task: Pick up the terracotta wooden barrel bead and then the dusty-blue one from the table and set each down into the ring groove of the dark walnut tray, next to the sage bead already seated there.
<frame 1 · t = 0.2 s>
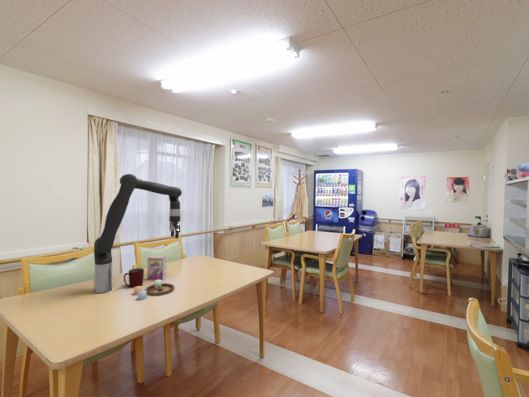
hand: (174, 237, 192), 29 cm above the table, fingers open, 8 cm apart
candy bar box: (156, 280, 185), on the table
bead terracotta: (138, 295, 158), on the table
bead sage: (157, 288, 166), point 1 cm above the table, touching groove tray
mug: (133, 288, 170), on the table
bead blue: (142, 300, 151), on the table
groove tray: (159, 292, 163), on the table
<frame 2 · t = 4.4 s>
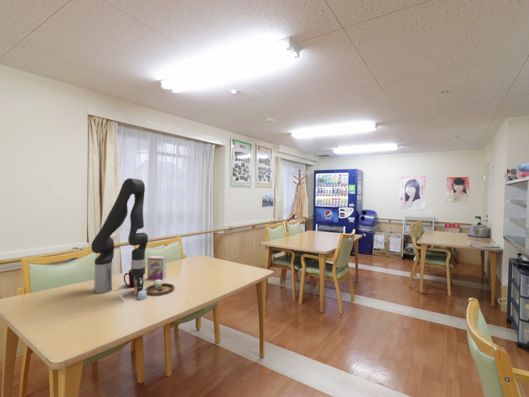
hand: (138, 294, 158), 0 cm above the table, fingers closed on bead terracotta, 4 cm apart
bead terracotta: (138, 295, 158), on the table, touching gripper
everything else where it was.
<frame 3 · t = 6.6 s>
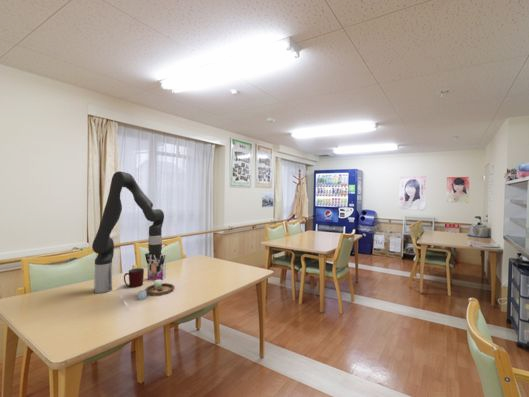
hand: (155, 271, 159), 14 cm above the table, fingers closed on bead terracotta, 4 cm apart
bead terracotta: (155, 271, 159), point 14 cm above the table, touching gripper
everything else where it was.
when the fingers open (2 cm above the table, at t = 9.0 s): bead terracotta stays where it is, resting on groove tray.
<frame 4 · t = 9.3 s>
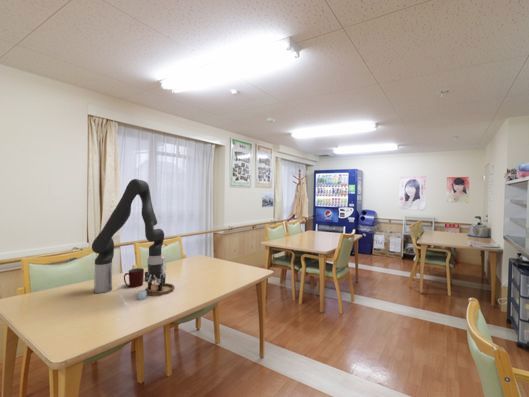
hand: (154, 289, 159), 3 cm above the table, fingers open, 7 cm apart
bead terracotta: (154, 292, 159), point 1 cm above the table, touching groove tray
everything else where it was.
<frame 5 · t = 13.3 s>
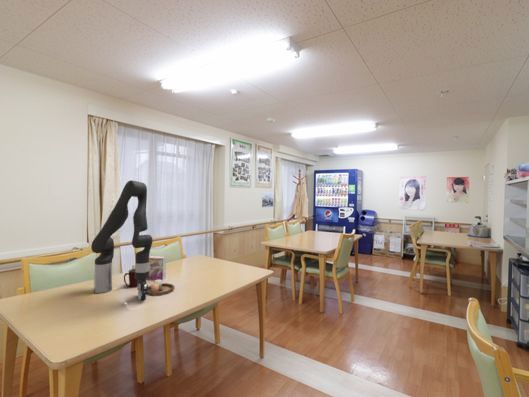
hand: (142, 299, 151), 0 cm above the table, fingers closed on bead blue, 4 cm apart
bead blue: (142, 300, 151), on the table, touching gripper
everything else where it was.
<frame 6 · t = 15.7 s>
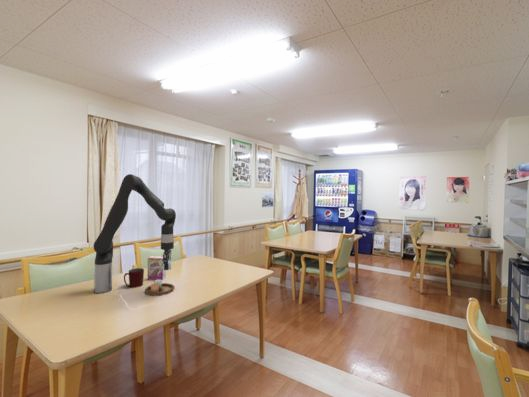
hand: (167, 268, 163), 15 cm above the table, fingers closed on bead blue, 4 cm apart
bead blue: (167, 269, 163), point 14 cm above the table, touching gripper
everything else where it was.
when the fingers open (2 cm above the table, at t = 18.2 s): bead blue stays where it is, resting on groove tray.
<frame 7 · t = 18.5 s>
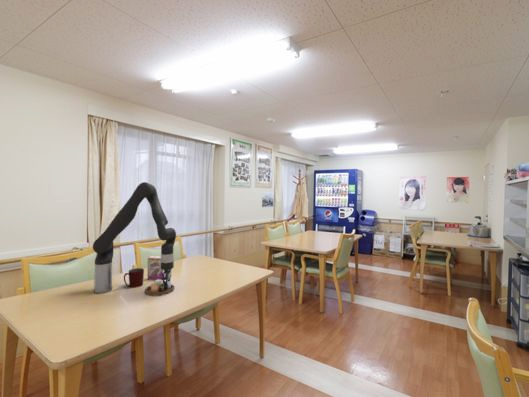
hand: (167, 287, 164), 3 cm above the table, fingers open, 7 cm apart
bead blue: (167, 290, 164), point 1 cm above the table, touching groove tray
everything else where it was.
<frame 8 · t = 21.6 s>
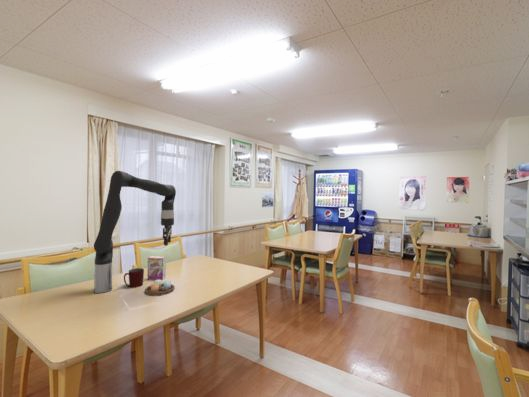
hand: (167, 243, 163), 30 cm above the table, fingers open, 8 cm apart
nothing on the table moved.
at the end: bead terracotta 0.1 cm from the target spot on the groove tray, point 1.2 cm above the groove tray's base; bead blue 0.0 cm from the target spot on the groove tray, point 1.2 cm above the groove tray's base; bead blue tilted 0° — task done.
